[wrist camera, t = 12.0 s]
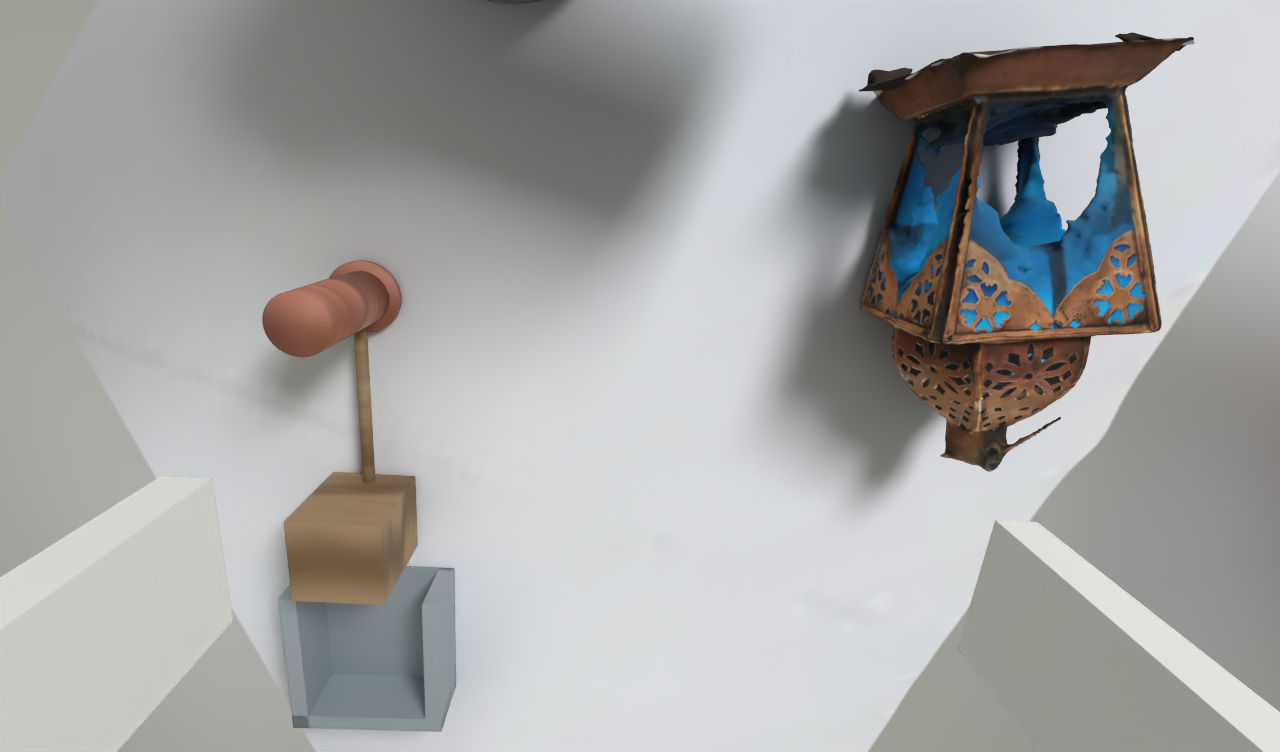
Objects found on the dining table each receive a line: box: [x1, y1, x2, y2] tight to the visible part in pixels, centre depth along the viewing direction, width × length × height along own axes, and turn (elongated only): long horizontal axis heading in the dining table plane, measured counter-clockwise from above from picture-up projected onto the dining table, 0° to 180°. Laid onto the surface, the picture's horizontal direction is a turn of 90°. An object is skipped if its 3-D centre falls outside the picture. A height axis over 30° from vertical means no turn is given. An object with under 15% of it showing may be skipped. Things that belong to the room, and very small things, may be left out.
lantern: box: [859, 33, 1194, 472], centre depth 36 cm, size 16×16×25 cm
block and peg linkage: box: [262, 261, 417, 605], centre depth 39 cm, size 22×6×9 cm, turn 175°
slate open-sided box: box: [278, 566, 456, 732], centre depth 47 cm, size 12×11×4 cm
